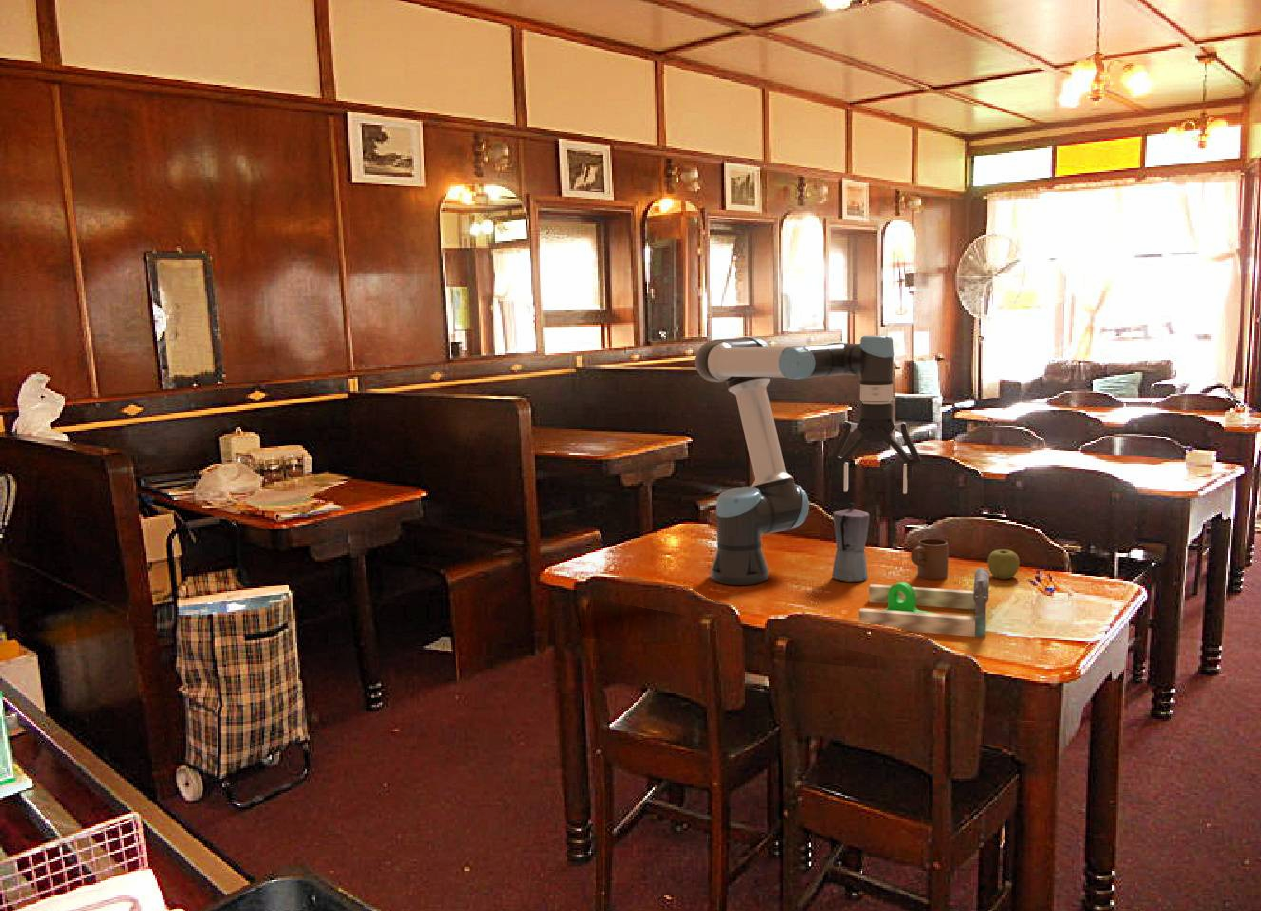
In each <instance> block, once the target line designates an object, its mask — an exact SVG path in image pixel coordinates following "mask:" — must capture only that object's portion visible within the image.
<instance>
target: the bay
mask: <svg viewBox="0 0 1261 911" xmlns="http://www.w3.org/2000/svg"><path fill="white" fill-rule="evenodd" d="M989 575H990V574H989V570H987V569H986V568H983V567H979V568H977V569H976V570H975V572H974V578H973V579H974V580H973V590H961V589H952V588H951V589H949V588H946V589H945V588H934V587H932V588H931V587H923V586H922V587H920V586H919V587H918V586H911V587H912V588H913V589H914V592H915V606H921V607H922V606H923V607H935V608H938V607H939V608H948V609H949V608H951V609H963V610H975V611H974V613H975V614H974V616H967V615H965V616H963V615H955V614H954V615H953V614H942V613H941V614H940V613H936V614H929V613H916V612H903V611H891V610H885V609H875V608H863V607H860V608H859V610H858V623H859V622H864V623H870V624H878V625H883V626H889V627H893V628H897V629H901V630H906V631H905V632H908V631H912V632H911V633H924V634H932V635H933V634H936V635H945V636H948V635H949V636H958V637H959V636H961V637H970V638H971V637H972V638H986V613H987V612H986V610H987V609H986V608H987V603H988V601H989V583H990V581H989V579H990V578H989V577H990V576H989ZM892 586H893V584H892V585H891V584H875V583H870V585H869V595H868V596H869V597H868V598H869V600H868V601H869V602H868V603H878V604H879V603H880V604H881V603H882V604H888V593H889V589H890V588H891V587H892ZM898 596H899V598H900V599H901V600H903V601H905V599H906V597H905V594H904V593H903V592H901V591H898Z"/></svg>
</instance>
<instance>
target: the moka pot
mask: <svg viewBox="0 0 1261 911" xmlns="http://www.w3.org/2000/svg"><path fill="white" fill-rule="evenodd" d="M855 505H856V504H855V503H854V502H849V503H848V506H849V508H848V509H842V510H837V511H836V510H835V511H833V513H832V516H833V524H834V534H835V541H836V548H837V549H836V553H835V557H834V564H833V569H832V570H833V571H832V577H833V579H834V580H837V581H842V582H846V583H849V582H850V583H853V582H854V583H856V582H864V581H866V580H867V579H868V577H869V576H868V567H867V559H866V551H865V549H866V543H867V539H868V534H869V533H868V532H869V524H870V518H871V516H870V514H869V512H868V511H863V510H859V509H855Z"/></svg>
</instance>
